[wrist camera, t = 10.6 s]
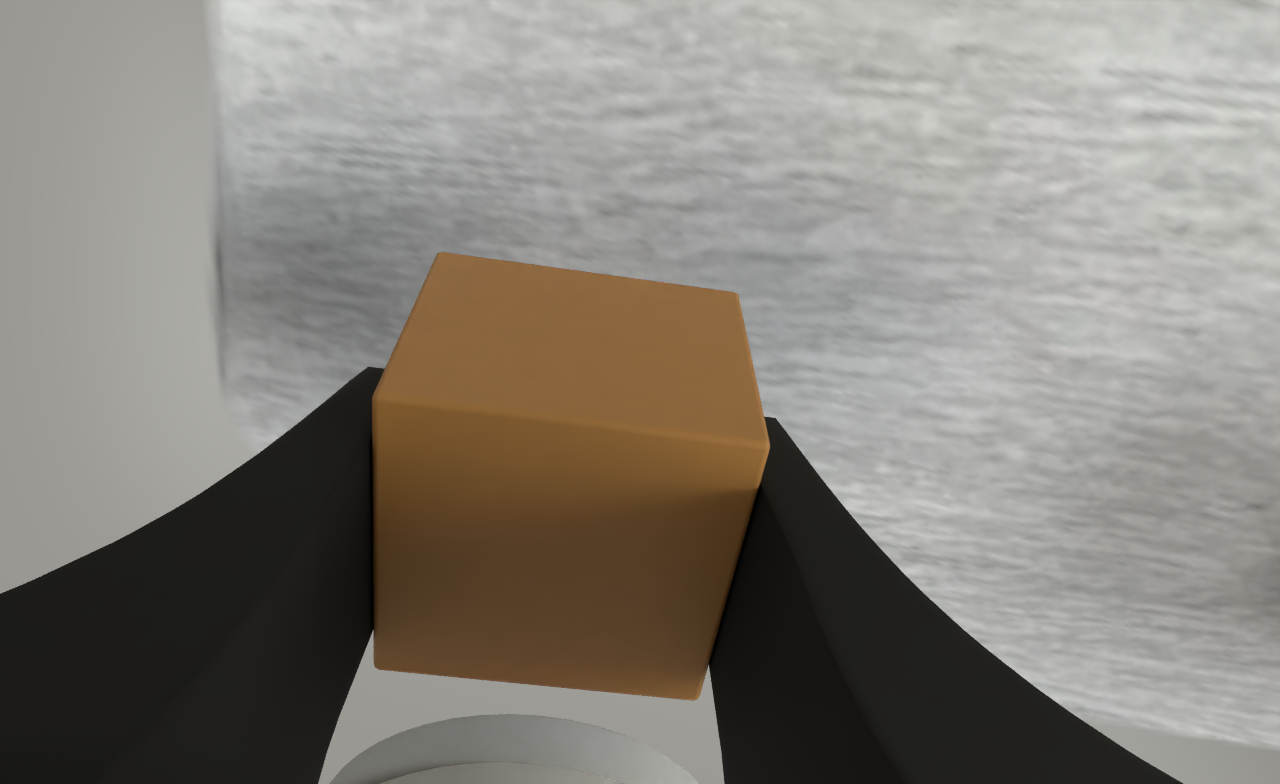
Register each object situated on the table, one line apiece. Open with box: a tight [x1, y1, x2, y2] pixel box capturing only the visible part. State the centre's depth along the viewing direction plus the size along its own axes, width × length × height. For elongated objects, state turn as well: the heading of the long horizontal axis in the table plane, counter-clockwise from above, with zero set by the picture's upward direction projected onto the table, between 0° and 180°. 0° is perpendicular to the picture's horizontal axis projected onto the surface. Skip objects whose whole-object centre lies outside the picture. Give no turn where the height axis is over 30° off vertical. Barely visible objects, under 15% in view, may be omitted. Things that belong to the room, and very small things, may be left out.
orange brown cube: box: [372, 252, 770, 700], centre depth 11 cm, size 4×4×4 cm
